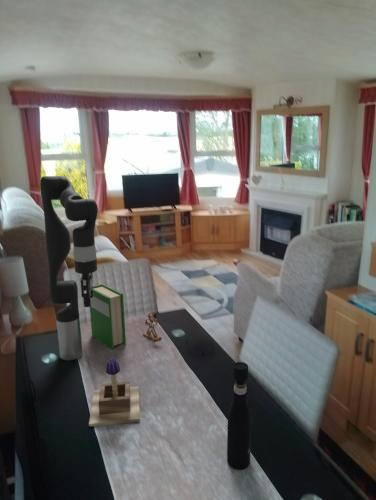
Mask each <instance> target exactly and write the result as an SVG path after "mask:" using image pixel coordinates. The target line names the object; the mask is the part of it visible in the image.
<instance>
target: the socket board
mask: <svg viewBox="0 0 376 500" xmlns="http://www.w3.org/2000/svg"><path fill="white" fill-rule="evenodd" d="M112 388H113V387H112V382H105V383H104V382H103V383H100V388H99V389H97V390H93V395H92V401H91V408H90V415H89V421H88V426H89V427H98V426H99V427H100V426H108V425H118V424H126V423H127V424H128V423H137V422H140V421H141V413H140V389H139V388H140V386H131V381H130V380H129V381H127V380H126V381H117V388H118V390H117V391H118V397H113V391H112Z"/></svg>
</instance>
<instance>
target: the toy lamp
mask: <svg viewBox="0 0 376 500" xmlns="http://www.w3.org/2000/svg"><path fill="white" fill-rule="evenodd" d="M120 371H121V367H120V365H119V363H118V360H117V358H114V357H113V358H109V359H108V360H107V363H106V368H105V373H106V374H107V375H110V379H111V382H110V383H112V387H113V388H112V391H113V397H118V391H117V390H118V388H117V382H118V380H117V377H118V376H117V374H118V373H119V372H120Z"/></svg>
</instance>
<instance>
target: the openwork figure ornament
mask: <svg viewBox="0 0 376 500" xmlns="http://www.w3.org/2000/svg"><path fill="white" fill-rule="evenodd" d="M147 317H148V319H146V320H145V326H148V328H147V331H146V332H144V333H142V336H143V337H145V338H146V337H147V339H149V340H151V341H153V342H155V341H156V342H158V341H160V340H161V339H162V336H160V335H158V334H157V332H156V329H155V326H157V325H158V323H159V321H158V319H157V318H155V315H154V313H152V312H151V313H148V316H147ZM148 321H149V322H148ZM150 329H151V330H150Z"/></svg>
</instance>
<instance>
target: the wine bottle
mask: <svg viewBox="0 0 376 500" xmlns="http://www.w3.org/2000/svg"><path fill="white" fill-rule="evenodd" d="M232 371H233V374H232V375H233V379H235V383H234V386H233V391H232V401H231V403H230V406H229V409H228V414H227V434H226V436H227V440H226V441H227V442H226V443H227V444H226V447H227V448H226V462H227V464H228V466H229V467H231V468H232V469H234V470H237V471H242V470H245V469H247V468H249V466H250V464H251V445H252V444H251V443H252V414H251V407H250V405H249V403H248V402H249V401H248V391H247V384H246V380H248V379H249V365H248V364H247V363H246V362H242V361H240V362H239V361H237V362H235V363H234V364H233V369H232Z"/></svg>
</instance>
